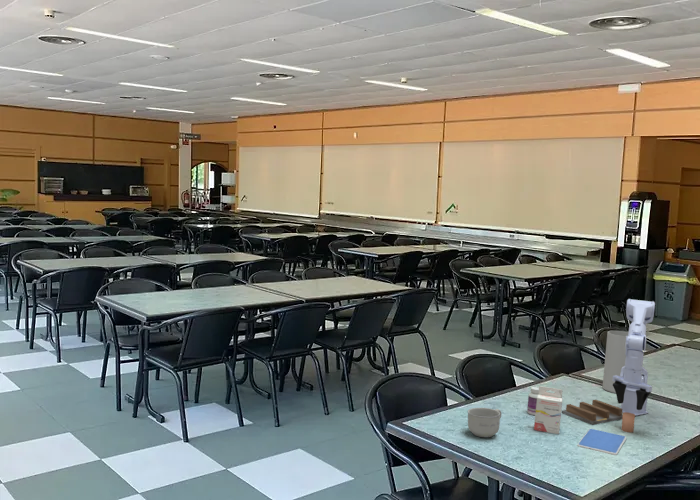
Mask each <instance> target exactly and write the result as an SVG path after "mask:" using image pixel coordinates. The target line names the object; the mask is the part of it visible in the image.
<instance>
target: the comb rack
mask: <svg viewBox="0 0 700 500" xmlns="http://www.w3.org/2000/svg"><path fill="white" fill-rule="evenodd" d="M622 410H623V409H622V408H621V407H618V406H615V405H612V404H610V403H607V402H604V401H600V400H598V399H592V404H590V403H589V402H588V403H587V402H586V401H580V402H579V406H576V405H574V404H571V403H568V404H566V405H565V409H564V410H561V414H563V415H565V416H568V417H571V418H573V419H576V420H579V421H580V422H584V423H586V424H588V425H591V426H595V425H600V424H605V423H610V422H614V421H618V420H619V421H620V420H622V417H623V412H622Z"/></svg>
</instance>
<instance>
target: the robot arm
mask: <svg viewBox="0 0 700 500" xmlns="http://www.w3.org/2000/svg"><path fill="white" fill-rule="evenodd" d="M655 305H656V302H655V301H654V300H652V301H650V300H649V301H648V300H640V299H639V300H638V299H631V298H628V299H627V300H626V309H625V310H626V311H625V314H626V319H627V320H628V321H629V322H631V323H630V324H629V325H628V326H629V327H628V331H627V332H628V337H627V336H626V344H625V349H626V353H625V355H626V358H625V366H623V367H622V368H621V373H620V376H617V375H615V376H613V380H612V381H614V382H615V383H613V387H614V389H615V392H616V393H615V395H616V401H617V404H619V405H620V408H622V409H623V410H622V414H623V413H624V412H628V413H633V414H635V417H636V416H642V415H645V414H646V415H647V414H649V411H647V407H648V405H647V404H648V398H649V396H650V394H651V392H653V386H652V385H650V384H648V378H649V375H648V374H649V372H648V370H647V369H646V368H645V366H643V362H644V354H645V352H646V347H647V324H650V323H652V322H653V321H654V316H655V308H656V306H655Z"/></svg>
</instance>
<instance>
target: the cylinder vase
mask: <svg viewBox="0 0 700 500" xmlns="http://www.w3.org/2000/svg"><path fill="white" fill-rule="evenodd" d="M628 332H629V331H625V330H609V331H607V334H606V335H607V336H606V345H605V353H604V354H605V356H604V357H605V358H604V368H603V376H602V378H603V379H602V388H603V390H604V391H606V392H609V393H613V394H616V392H615V389H614V387H613V383H615V382H614V381H612V380H613V376H615V375H617V376H620V373H621V368H622V367H623V366H625V358H626V355H625V353H626V349H625V344H626V336H627V337H628Z"/></svg>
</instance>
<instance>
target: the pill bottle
mask: <svg viewBox="0 0 700 500" xmlns="http://www.w3.org/2000/svg"><path fill="white" fill-rule="evenodd" d="M538 393H539V387H537V386H532V387H530V392H529V393H528V397H527V407H526V410H527V411H526V413H527V414H528V415H532V416H535V413H536V403H537V396H538Z"/></svg>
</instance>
